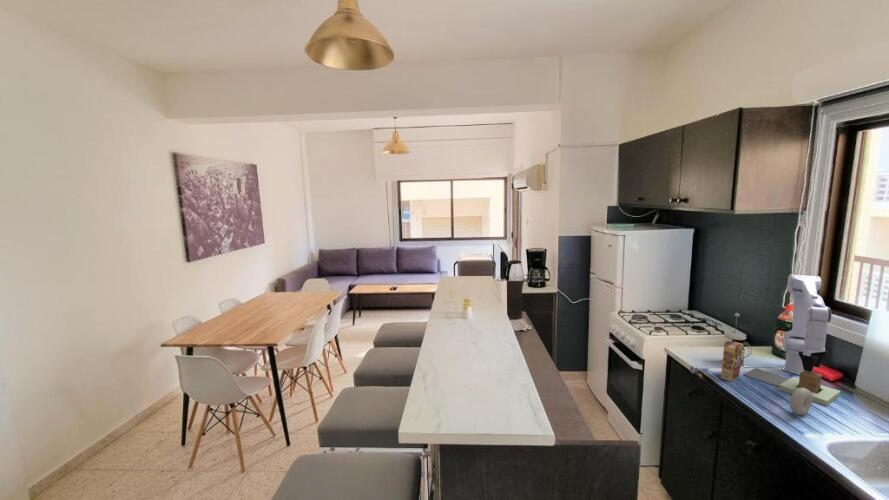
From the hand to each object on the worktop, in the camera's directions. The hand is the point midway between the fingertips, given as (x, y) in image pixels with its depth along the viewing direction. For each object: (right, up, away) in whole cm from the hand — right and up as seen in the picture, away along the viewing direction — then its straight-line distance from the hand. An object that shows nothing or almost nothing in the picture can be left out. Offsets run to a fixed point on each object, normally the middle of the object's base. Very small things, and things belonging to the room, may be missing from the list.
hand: (811, 368), depth 143 cm
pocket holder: (0, -10, +1) cm, 10 cm away
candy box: (-21, -9, +15) cm, 27 cm away
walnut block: (0, -10, +1) cm, 10 cm away
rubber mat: (-5, -9, +14) cm, 17 cm away
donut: (-17, -13, -12) cm, 25 cm away
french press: (-9, -7, +27) cm, 29 cm away
